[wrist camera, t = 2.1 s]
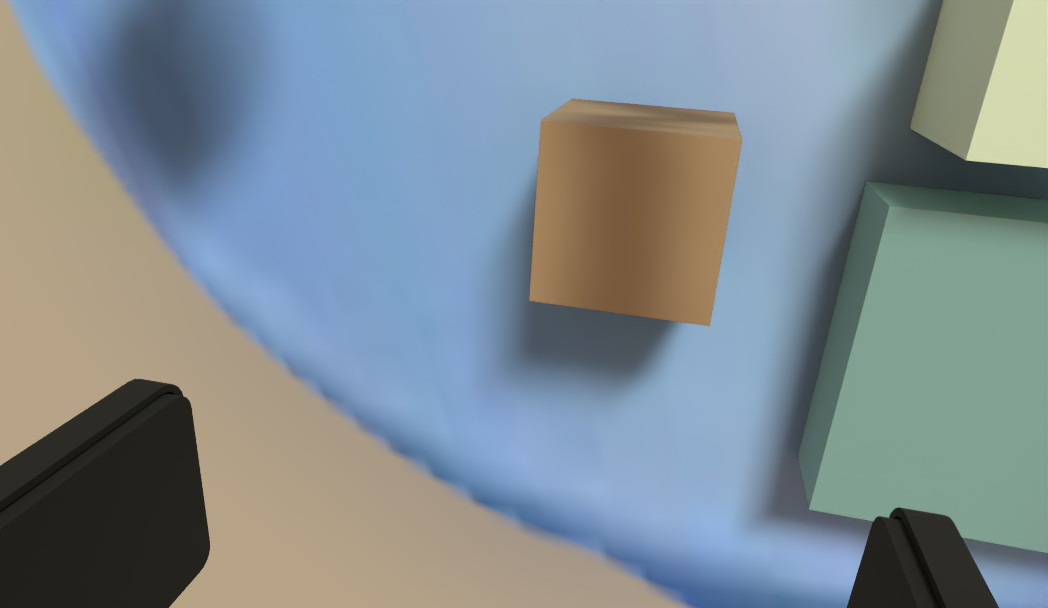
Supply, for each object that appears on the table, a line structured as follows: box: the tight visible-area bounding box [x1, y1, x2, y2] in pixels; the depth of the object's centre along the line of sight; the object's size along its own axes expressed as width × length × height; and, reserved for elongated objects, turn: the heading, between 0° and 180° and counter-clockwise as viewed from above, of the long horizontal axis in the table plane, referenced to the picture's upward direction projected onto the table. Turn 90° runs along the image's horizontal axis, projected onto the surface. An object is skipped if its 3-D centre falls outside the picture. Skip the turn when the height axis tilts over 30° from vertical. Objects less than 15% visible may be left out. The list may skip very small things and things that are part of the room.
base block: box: [797, 181, 1048, 553], centre depth 26 cm, size 12×12×4 cm
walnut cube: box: [529, 99, 742, 326], centre depth 25 cm, size 6×6×6 cm
